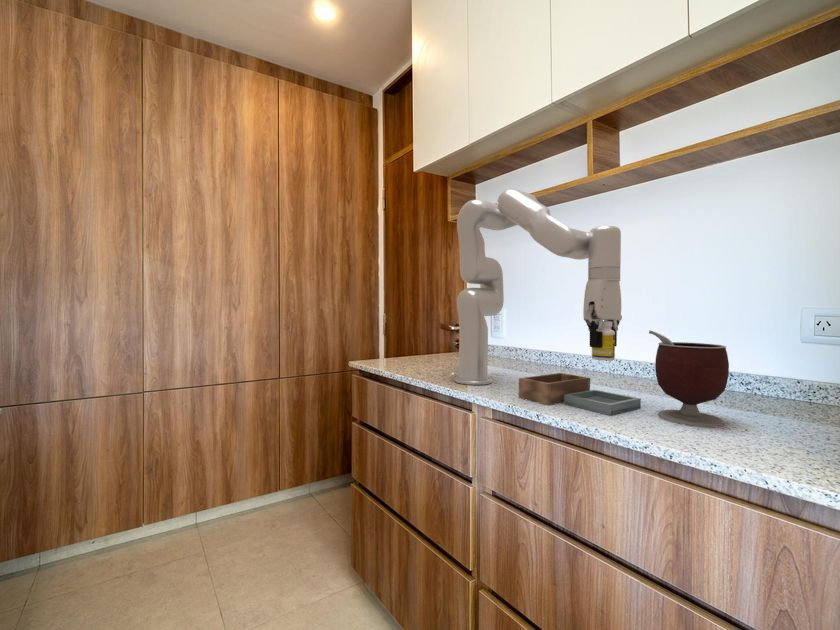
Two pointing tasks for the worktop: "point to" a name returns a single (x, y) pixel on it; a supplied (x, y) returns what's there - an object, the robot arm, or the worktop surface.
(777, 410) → the worktop surface
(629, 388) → the worktop surface
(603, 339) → the supplement bottle
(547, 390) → the holder
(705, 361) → the mate gourd
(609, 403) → the tray
